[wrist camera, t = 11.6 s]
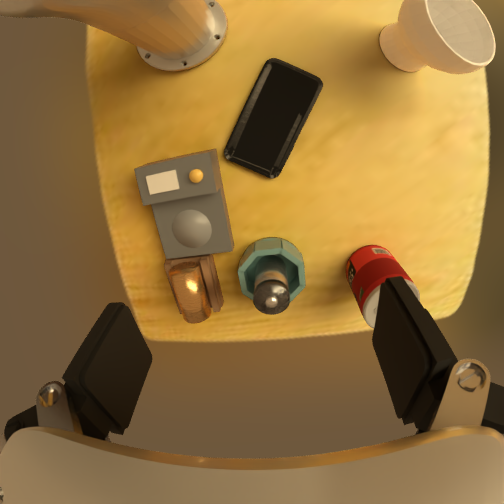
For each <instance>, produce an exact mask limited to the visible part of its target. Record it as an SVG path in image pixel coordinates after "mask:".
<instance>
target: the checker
mask: <svg viewBox="0 0 504 504" xmlns="http://www.w3.org/2000/svg"><path fill="white" fill-rule="evenodd" d="M134 170H135V174H136V179H137V183H138V187H139V191H140V195H141V199H142V203H143V206H145V205H150V204H151V206H152V210H153V213H154V217H155V221H156V225H157V228H158V232H159V235H160V239H161V242H162V246H163V249H164V253H165V256H166V259H171V258H179V257H188V256H196V255H205V254H213V253H222V252H230V251H233V248H234V242H233V237H232V232H231V227H230V221H229V216H228V211H227V206H226V200H225V195H224V190H223V184H222V179H221V173H220V168H219V162H218V157H217V151H216V149H212V150H206V151H201V152H196V153H191V154H187V155H182V156H177V157H173V158H169V159H164V160H160V161H156V162H152V163H148V164H145V165H143V166H140V167H138V168H135V169H134Z"/></svg>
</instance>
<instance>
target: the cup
mask: <svg viewBox="0 0 504 504" xmlns="http://www.w3.org/2000/svg"><path fill="white" fill-rule="evenodd" d="M379 40H380V46H381V49H382V52H383V53H384V55H385V57H386V58H387V59H388V60H389V61H390V63H392V64H393V65H394V66H395V67H397V68H399V69H401V70H403V71H407V72H415V71H418V70H420V69H422V68H424V67H425V66H427V65H428V66H430V67H431V68H434V69H437V70H440V71H443V72H447V73H450V74H464V73H471V72H474V71H477V70H479V69H480V68H482V67H484V66H486V65H487V64H488V63H490V62H491V60H492V59H493V57H494V54H495V39H494V34H493V31H492V29H491V26H490V24H489V22H488V20H487V18H486V16H485V15H484V13H483V12H482V11H481V9H480V8H479V7H478V6H477V5H476V4H475V2H474V1H473V0H404V1H403V3H402V5H401V8H400V11H399V16H398V22H396V23H393V24H390V25H388V26H386V27H385V28H383V30H382V31H381V33H380V37H379Z"/></svg>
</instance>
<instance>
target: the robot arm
mask: <svg viewBox="0 0 504 504" xmlns="http://www.w3.org/2000/svg"><path fill="white" fill-rule="evenodd" d="M211 6H213V7H211ZM0 16H4V17H13V18H39V17H40V18H41V17H55V18H65V19H71V20H75V21H79V22H82V23H85V24H88V25H90V26H93V27H95V28H98V29H100V30H103V31H105V32H108V33H110V34H112V35H115V36H117V37H119V38H121V39H123V40H126V41H128V42H130V43H132V44H134V45H136V46H137V50H138V52H139V54H140V56H141V57H142V59H143V60H144V61H145V62H146V63H148V64H149V65H151V66H153V67H155V68H157V69H160V70H163V71H182V70H187V69H190V68H193V67H196V66H198V65H200V64H201V63H203V62H205V61H206V60H208V59H209V58H210V57H212V56H213V55H214V54H215V52H216V51H217V50H218V49H219V48H220V46H221V45H222V43H223V41H224V39H225V37H226V33H227V28H228V25H227V18H226V15H225V12H224V10H223V8H222V7H221V6H220V4H219V3H218V2H217V1H215V0H0ZM218 37H220V39H218V40H217V38H218ZM149 56H150V58H149ZM185 63H187V65H186V66H184V64H185ZM372 342H373V347H374V350H375V352H376V355H377V357H378V360H379V363H380V366H381V369H382V372H383V375H384V378H385V381H386V384H387V387H388V390H389V393H390V396H391V399H392V402H393V405H394V409H395V412H396V415H397V417H398V418H402V420H403V423H404V425H406V424H409V423H413V422H414V423H415V426H416V428H417V431H416V433H415V435H413V436H408V437H404V438H401V439H397V440H393V441H389V442H385V443H380V444H377V445H371V446H366V447H361V448H356V449H350V450H345V451H339V452H332V453H326V454H318V455H309V456H299V457H285V458H265V459H264V458H262V459H230V458H229V459H228V458H210V457H196V456H186V455H178V454H170V453H163V452H156V451H150V450H144V449H138V448H134V447H129V446H124V445H119V444H116V443H112V442H111V441H110V438H109V436H108V433H109V431H111V432H112V433H116V434H121V435H123V433H124V430H125V429H126V428H128V426H129V424H130V421H131V418H132V415H133V412H134V409H135V406H136V404H137V401H138V398H139V395H140V392H141V389H142V387H143V384H144V381H145V379H146V376H147V373H148V370H149V368H150V365H151V363H152V354H151V352H150V350H149V348H148V346H147V344H146V342H145V340H144V338H143V336H142V334H141V332H140V330H139V328H138V326H137V324H136V322H135V320H134V318H133V315H132V313H131V311H130V309H129V308H128V307H127V306H125V304H124V303H122V302H119V303H109V304H108V305H107V306H106V308H105V309H104V311H103V313H102V314H101V315H100V317H99V318H98V320H97V321H96V323H95V324H94V326H93V328H92V329H91V331H90V332H89V334H88V335H87V337H86V338H85V340H84V342H83V343H82V345H81V346H80V348H79V350H78V351H77V353H76V354H75V356H74V358H73V360H72V361H71V363H70V364H69V366H68V368H67V370H66V371H65V373H64V375H63V377H62V378H63V379H64V381H65V382H66V383H65V384H64V385H63V384H62V383H61V382H59V381H51V382H48V383H46V384H45V385H44V386H43V387H41V389H40V390H39V392H38V394H37V396H36V405H35V406H33V407H31V408H29V409H27V410H25V411H24V412H22V413H20V414H18V415H16V416H14V417H12V418H11V419H10V420H9V421H8V422H7V424H6V426H5V432H4V434H1V435H0V504H504V387H502V386H500V385H497V384H495V383H492V382H490V374H489V371H488V369H487V368H486V367H485V366H484V365H483V364H482V363H481V362H479V361H477V360H474V359H463V360H461V361H459V362H458V360H457V358H456V356H455V355H454V353H453V351H452V349H451V348H450V346H449V344H448V343H447V341H446V339H445V337H444V336H443V334H442V333H441V331H440V330H439V328H438V326H437V324H436V323H435V321H434V320H433V318H432V317H431V315H430V313H429V312H428V311H427V310H426V309H425V308H423V306H422V305H421V303H420V302H419V300H418V299H417V297H416V296H415V294H414V293H413V291H412V290H411V288H410V287H409V285H408V284H407V282H406V281H405V280H404V278H403V277H402V276H396V277H389V278H386V280H385V282H384V283H381V286H380V293H379V300H378V307H377V314H376V320H375V326H374V332H373V338H372Z"/></svg>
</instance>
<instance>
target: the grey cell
mask: <svg viewBox="0 0 504 504" xmlns="http://www.w3.org/2000/svg"><path fill="white" fill-rule="evenodd" d="M253 302H254V305H255V307H256V308H257V309H258V310H259V311H260V312H262V313H265V314H271V315H272V314H278V313H281V312H283V311H284V310H285V309H286V308H287V307H288V305H289V303H290V293H289V288H288V279H287V271H286V265H285V262H284V261H283V260H282V259H281V258H280V257H278V256H275V255H267V256H264V257H262V258H261V259H260V260H259V261H258V262H257V265H256V274H255V287H254V295H253Z"/></svg>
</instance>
